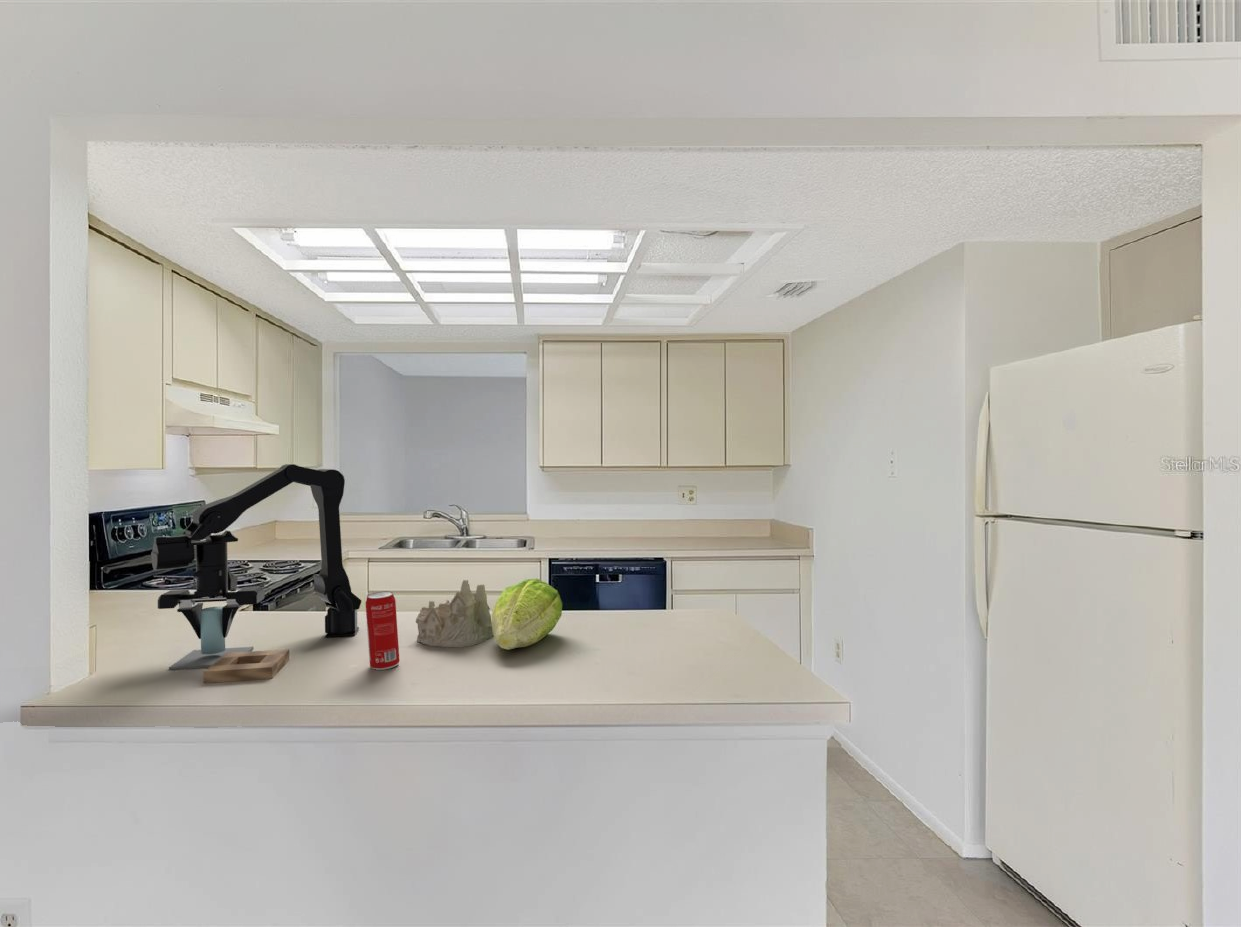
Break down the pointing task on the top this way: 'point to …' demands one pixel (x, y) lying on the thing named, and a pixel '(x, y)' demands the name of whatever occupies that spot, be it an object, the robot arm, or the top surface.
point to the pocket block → (247, 666)
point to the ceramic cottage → (456, 620)
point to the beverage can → (382, 630)
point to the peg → (211, 630)
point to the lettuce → (525, 613)
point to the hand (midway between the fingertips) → (213, 637)
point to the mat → (204, 658)
